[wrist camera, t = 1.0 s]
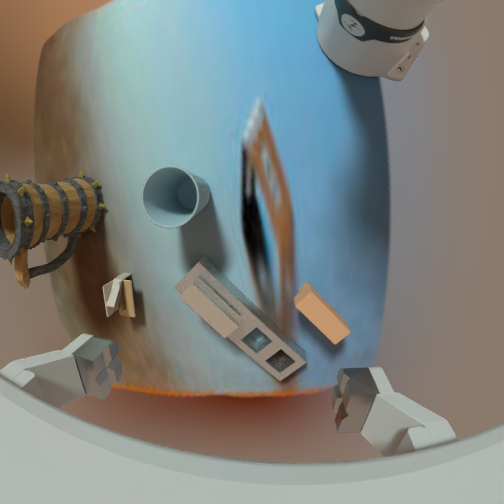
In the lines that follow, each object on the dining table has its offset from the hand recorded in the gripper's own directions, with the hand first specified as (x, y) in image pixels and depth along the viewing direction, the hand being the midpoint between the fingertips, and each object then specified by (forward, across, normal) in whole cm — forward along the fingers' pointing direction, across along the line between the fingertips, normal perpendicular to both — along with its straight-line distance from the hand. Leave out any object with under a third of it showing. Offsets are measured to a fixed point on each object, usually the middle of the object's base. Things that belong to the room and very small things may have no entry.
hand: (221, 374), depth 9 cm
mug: (+36, +34, -1) cm, 49 cm away
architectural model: (+36, +24, +12) cm, 45 cm away
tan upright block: (+35, -10, +11) cm, 38 cm away
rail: (+35, +2, +15) cm, 39 cm away
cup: (+35, +11, -5) cm, 37 cm away
